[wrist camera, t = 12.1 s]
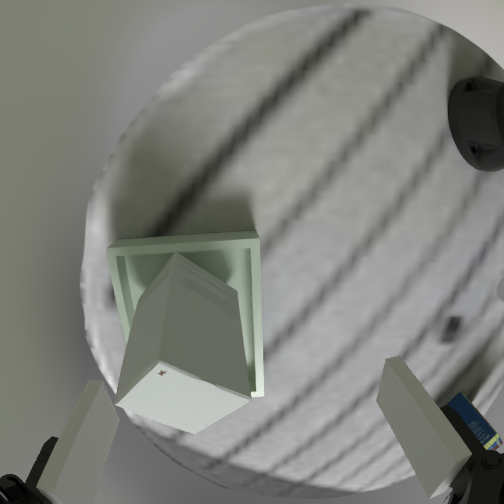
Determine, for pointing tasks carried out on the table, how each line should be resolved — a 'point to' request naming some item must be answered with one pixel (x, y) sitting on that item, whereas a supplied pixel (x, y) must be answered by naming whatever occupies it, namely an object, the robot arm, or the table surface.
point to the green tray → (208, 258)
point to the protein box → (476, 422)
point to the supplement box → (185, 350)
